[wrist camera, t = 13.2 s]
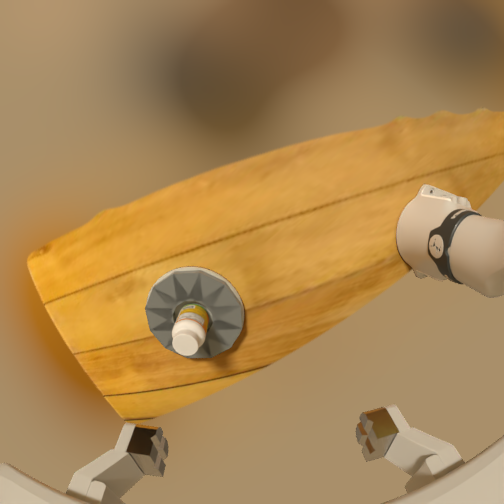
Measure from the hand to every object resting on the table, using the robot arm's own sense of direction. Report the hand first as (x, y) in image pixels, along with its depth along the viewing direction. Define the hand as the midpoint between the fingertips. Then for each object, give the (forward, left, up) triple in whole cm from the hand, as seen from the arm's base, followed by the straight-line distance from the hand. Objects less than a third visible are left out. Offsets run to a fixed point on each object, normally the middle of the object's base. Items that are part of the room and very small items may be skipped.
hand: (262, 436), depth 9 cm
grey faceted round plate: (+10, +13, -37) cm, 41 cm away
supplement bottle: (+10, +13, -36) cm, 40 cm away
